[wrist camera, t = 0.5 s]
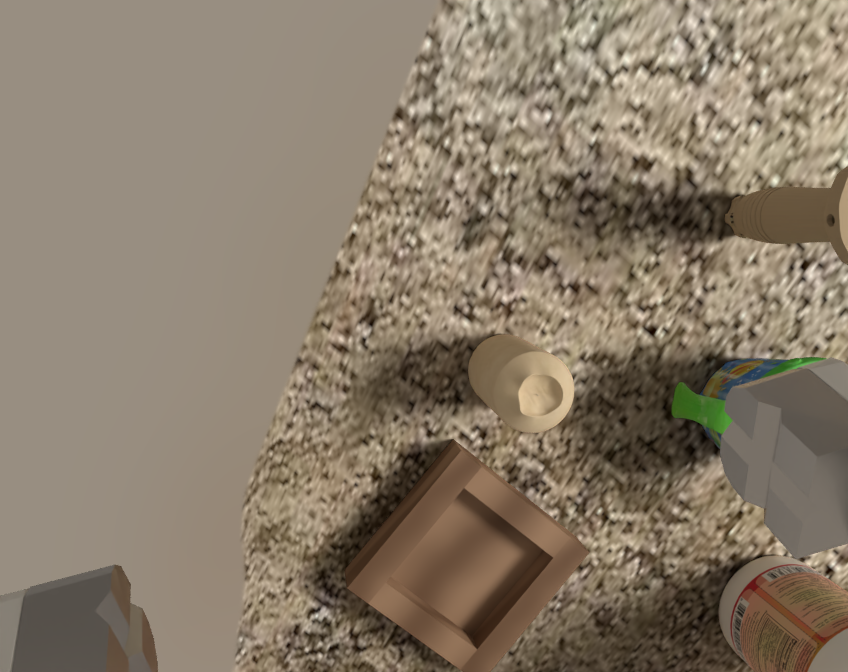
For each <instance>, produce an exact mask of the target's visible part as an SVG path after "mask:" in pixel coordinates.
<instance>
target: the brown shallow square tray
mask: <svg viewBox="0 0 848 672" xmlns="http://www.w3.org/2000/svg"><path fill="white" fill-rule="evenodd" d="M589 553H590V552H589V551H588V550H587V549H586V548H585V547H584V546H583V544H582V543H581V542H580V541H579V540H578V539H577V538H576V536H574V535H573V534H572V533H571V532H569V531H568V530H567V529H566V528H564V527H563V526H562V525H561V524H559V523H558V522H557V521H556V520H554V519H553V518H552V517H550V516H549V515H548V514H547V513H545V512H544V511H543V510H542V509H540V508H539V507H538V506H537V505H535V504H534V503H533V502H532V501H530V500H529V499H528V498H527V497H525V496H524V495H523V494H522V493H520V492H519V491H518V490H517V489H515V488H514V487H513V486H512V485H510V484H509V483H508V482H506V481H505V480H504V479H503V478H501V477H500V476H499V475H498V474H496V473H495V472H494V471H493V470H491V469H490V468H489V467H488V466H486V465H485V464H484V463H483V462H481V461H480V460H479V459H478V458H476V457H475V456H474V455H473V454H471V453H470V452H469V451H467V450H466V449H465V448H464V447H462V446H461V445H460V444H459V443H457V442H456V441H455V440H454V439H453V440H452V441H451V442H450V443H449V445H448V446H447V447H446V448H445V449H444V451H443V452H442V453H441V454H440V455H439V457H438V458H437V459H436V460H435V461H434V463H433V464H432V465H431V466H430V467H429V469H428V470H427V471H426V472H425V474H424V475H423V476H422V477H421V478H420V480H419V481H418V482H417V483H416V484H415V486H414V487H413V488H412V489H411V490H410V492H409V493H408V494H407V495H406V496H405V498H404V499H403V500H402V501H401V502H400V504H399V505H398V506H397V507H396V508H395V510H394V511H393V512H392V513H391V515H390V516H389V517H388V518H387V519H386V521H385V522H384V523H383V524H382V525H381V527H380V528H379V529H378V530H377V531H376V533H375V534H374V535H373V536H372V537H371V539H370V540H369V541H368V542H367V543H366V545H365V546H364V547H363V548H362V550H361V551H360V552H359V553H358V554H357V556H356V557H355V558H354V559H353V560H352V562H351V563H350V564H349V565H348V566H347V568H346V569H345V576H346V584H347V589H349V590H350V591H351V592H353V593H354V594H356V595H357V596H358V597H360V598H361V599H363V600H364V601H365V602H367V603H368V604H369V605H371V606H372V607H374V608H375V609H376V610H378V611H379V612H381V613H382V614H383V615H385V616H386V617H388V618H389V619H390V620H392V621H393V622H394V623H396V624H397V625H399V626H400V627H401V628H403V629H404V630H406V631H407V632H408V633H410V634H411V635H413V636H414V637H415V638H417V639H418V640H419V641H421V642H422V643H424V644H425V645H426V646H428V647H429V648H431V649H432V650H433V651H435V652H436V653H438V654H439V655H440V656H442V657H443V658H445V659H446V660H447V661H449V662H450V663H451V664H453V665H454V666H456V667H457V668H458V669H460V670H461V671H463V672H490V671H491V670H492V669H493V668H494V667H495V665H496V664H497V663H498V662H499V661H500V659H501V658H502V657H503V656H504V655H505V653H506V652H507V651H508V650H509V649H510V647H511V646H512V645H513V644H514V643H515V641H516V640H517V639H518V638H519V637H520V635H521V634H522V633H523V632H524V631H525V629H526V628H527V627H528V626H529V625H530V623H531V622H532V621H533V620H534V619H535V617H536V616H537V615H538V614H539V613H540V611H541V610H542V609H543V608H544V607H545V605H546V604H547V603H548V602H549V601H550V599H551V598H552V597H553V596H554V595H555V593H556V592H557V591H558V590H559V589H560V587H561V586H562V585H563V584H564V583H565V581H566V580H567V579H568V578H569V577H570V575H571V574H572V573H573V572H574V571H575V569H576V568H577V567H578V566H579V565H580V563H581V562H582V561H583V560H584V559H585V557H586V556H587V555H588V554H589Z"/></svg>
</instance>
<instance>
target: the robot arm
mask: <svg viewBox="0 0 848 672" xmlns="http://www.w3.org/2000/svg"><path fill="white" fill-rule="evenodd" d="M724 411H725V412H726V414H727V415H728V416H729V417H730V418H731V419H732V420H733V421H732V422H731V423H730V425H729V426H728V427H727V429H726V430H725V431H724V433H723V434H722V436H721V446H720V457H721V461H722V464H723V468H724V472H725V474H726V476H727V478H728V480H729V481H730V483H731V485H732V487H733V488H734V489H735V490H736V492H737V493H738V494H739V495H740V496H741V498H742V499H743V500H744V501H747V502H749V503H752V504H754V505H757V506H759V507H761V508H764V524H765V525H766V526H767V527H768V528H769V529H770V531H771V532H772V533H773V534H774V535H775V536H776V537H777V538H778V540H779V541H780V542H781V543H782V544H783V545H784V546H785V547H786V549H787V550H788V551H789V552H790V553H791V554H792V555H793V556H794V558H795V559H798V558H801V557H804V556H808V555H811V554H814V553H818V552H821V551H824V550H828V549H831V548H834V547H838V546H841V545H844V544H848V365H847V364H846V363H844V362H843V361H841V360H838V359H834V358H828V359H824V360H821V361H818V362H814V363H811V364H808V365H804V366H801V367H798V368H797V369H792V370H788V371H785V372H782V373H778V374H775V375H771V376H768V377H765V378H761V379H758V380H755V381H751V382H748V383H745V384H741V385H738V386H734V387H732V388H731V389H730V391H729V393H728V394H727V396H726V401H725V409H724ZM130 589H131V584H130V582H129V580H128V579H127V576H126V575H125V573H124V571H123V569H122V567H121V566H118V565H112V566H108V567H105V568H100V569H97V570H93V571H89V572H85V573H81V574H77V575H74V576H70V577H66V578H62V579H58V580H55V581H51V582H47V583H43V584H39V585H36V586H32V587H30V588H28V589H24V590H21V591H17V592H13V593H9V594H5V595H1V596H0V672H158V663H157V656H156V650H155V644H154V638H153V635H152V632H151V629H150V625H149V622H148V620H147V618H146V615H145V613H144V611H143V609H142V608H141V607H138V606H136V605H134V604H132V603H130Z"/></svg>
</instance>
